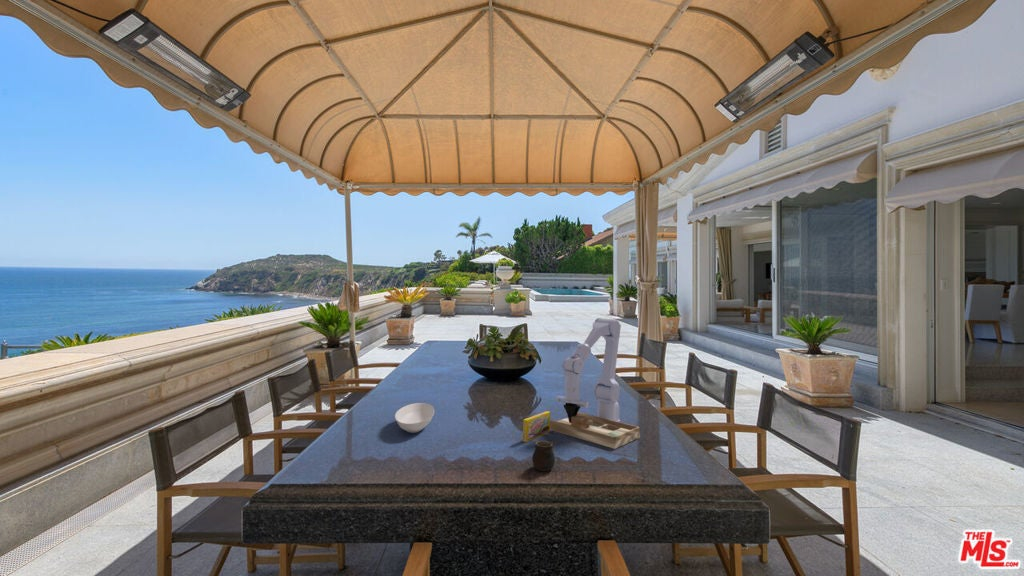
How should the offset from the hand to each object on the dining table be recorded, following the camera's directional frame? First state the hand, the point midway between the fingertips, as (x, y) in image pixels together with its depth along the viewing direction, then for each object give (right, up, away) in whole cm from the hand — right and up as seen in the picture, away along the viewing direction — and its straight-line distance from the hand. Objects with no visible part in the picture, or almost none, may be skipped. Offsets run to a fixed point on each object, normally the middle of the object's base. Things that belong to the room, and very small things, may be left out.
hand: (571, 422), depth 183 cm
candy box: (-14, -4, -7) cm, 16 cm away
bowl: (-63, -3, +2) cm, 63 cm away
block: (+3, -1, -3) cm, 4 cm away
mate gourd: (-14, -4, -38) cm, 41 cm away
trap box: (+8, -4, -2) cm, 9 cm away
